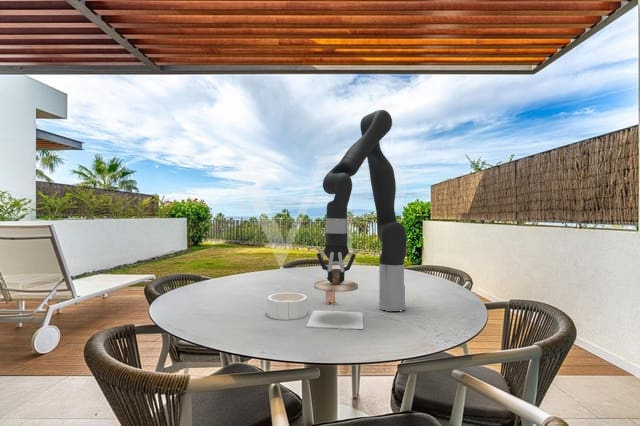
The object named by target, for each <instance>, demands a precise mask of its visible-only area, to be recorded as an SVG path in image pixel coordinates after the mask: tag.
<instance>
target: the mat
mask: <svg viewBox="0 0 640 426" xmlns="http://www.w3.org/2000/svg"><path fill="white" fill-rule="evenodd" d="M363 313H364V312H362V311H340V310H339V311H336V310H313V311H312V313H311V315H310V317H309V320H308V321H307V322H306V323H307V324H306V326H305V328H312V329H313V328H314V329H332V328H333V329H335V328H337V330H339V329H340V330H356V329H363V330H364V315H363Z"/></svg>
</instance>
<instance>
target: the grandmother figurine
mask: <svg viewBox="0 0 640 426" xmlns="http://www.w3.org/2000/svg"><path fill="white" fill-rule="evenodd" d="M325 278H326V280H328V272H327V273H326V275H325ZM331 304H332V305H333V306H334V305H337V304H338V302H336V292H328V291H325V305H331Z"/></svg>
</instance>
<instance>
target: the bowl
mask: <svg viewBox="0 0 640 426" xmlns="http://www.w3.org/2000/svg"><path fill="white" fill-rule="evenodd" d="M285 300H290V301H285ZM266 315H267V316H268V318H271V319H275V320H279V321H282V320H283V321H284V320H285V321H289V320H290V321H291V320H298V319H301V318H305V317H306V316H307V315H308V295H306V294H305V293H299V292H278V293H273V294H269V296H267V298H266Z"/></svg>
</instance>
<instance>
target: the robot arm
mask: <svg viewBox="0 0 640 426" xmlns="http://www.w3.org/2000/svg"><path fill="white" fill-rule="evenodd" d="M359 126H360V127H359V128H360V131H361V137H360V138H359V139H357V140H356V142H354V143H353V144H352V145H351V146H350V147H349V148H348V150H347V151H346V152H345V154H344V155H343V157H342V158H341V160H340V161H339V162H338V163H337V164H336V165H335V166H333V168H331V170H330V171H328V172H327V174H326V175H325V177H324V178H323V180H322V189H323V191H324V192H325V193H327V194H328V195H334V198H333V200H331V201H329V202H327V203H326V221H325V228H324V229H325V247H324V249H323V251H321V252H318V253H316V257H317V260H318V262H319V263H320V266H321V268H322V270H324V271H326V272H327V273H328V281H330V283H332V269H333V264H334V263H335V262H338V264H339V267H340V268H339V269H341V272H340V283H342V281H344V280H345V272H346V271H350V269H351V267H352V265H353V264H354V260H355V258H356V253H353V252H351V251H350V250H349V248H348V238H349V237H348V236H349V235H348V234H349V233H348V232H349V231H348V229H349V227H348V226H349V224H348V206H349V202H350V198H351V194H352V190H353V181H352V178H351V177H353V176H355V175H356V174H357V173H358V171H359V170H360V168H361V167H362V165H363V164H364V162H365V160H366V159H367V164H368V165H367V166H368V170H369V171H368V172H369V180H370V185H371V190H372V196H373V201H374V205H375V206H374V207H375V211H376V230H377V231H376V232H377V236H378V237H377V238H378V240H379V241H380V242H381V253H380V256H379V259H378V260H379V263H378V264H379V265H378V266H379V271H378V272H379V274H378V276H379V278H378V279H379V281H378V282H379V283H378V286H379V287H378V288H379V289H378V291H379V293H378V299H379V302H378V305H379V308H380V309H379V310H381V309H382V310H381V311H383V310H386V311H385V312H387V311H400V310H405V311H406V285H405V259H406V256H407V231H406V228H405V226H404V225H403V224H401V223H400V222H398V221H397V217H396V211H395V204H396V203H395V202H396V195H397V194H396V191H397V183H396V177H395V170H394V168H393V166H392V164H391V162H390V161H389V160H388V159H387V157H386V156H385V154H384V152H383V150H382V148H381V144H380V141H381V140H382V139H383V138H384V137H385V136H386V135H387V134H388V133H389V132H390V130H391V129H392V126H393V118H392V116H391V114H390V113H389V112H388V111H387V110H386V109H377V110H375V111H372V112H370V113H369V114H366V115H364V116H363V117H362V119H361V120H360V125H359ZM325 256H326V258H327V259H328V264H327V265H326V262H325V260H324V258H325ZM347 256H348V259H349V260H348V263H347V265H346V266H345V263H344V260H345V258H346V257H347ZM400 312H401V311H400Z"/></svg>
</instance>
